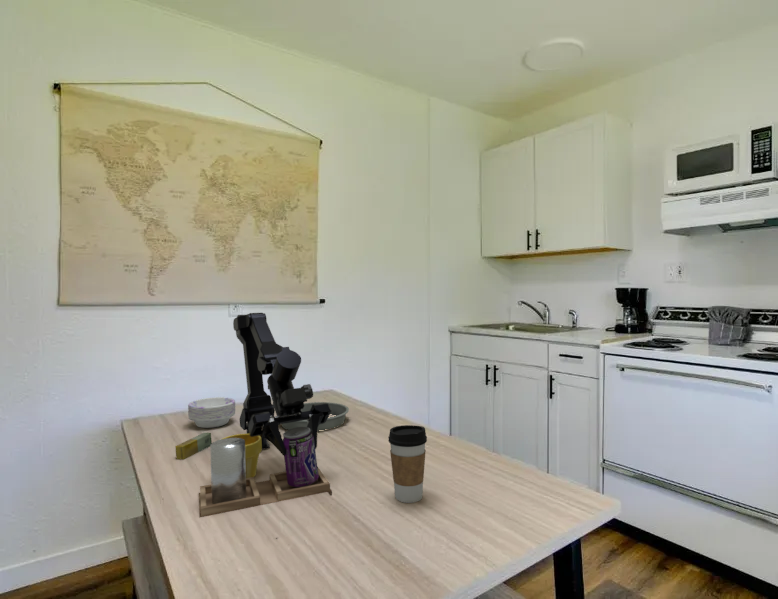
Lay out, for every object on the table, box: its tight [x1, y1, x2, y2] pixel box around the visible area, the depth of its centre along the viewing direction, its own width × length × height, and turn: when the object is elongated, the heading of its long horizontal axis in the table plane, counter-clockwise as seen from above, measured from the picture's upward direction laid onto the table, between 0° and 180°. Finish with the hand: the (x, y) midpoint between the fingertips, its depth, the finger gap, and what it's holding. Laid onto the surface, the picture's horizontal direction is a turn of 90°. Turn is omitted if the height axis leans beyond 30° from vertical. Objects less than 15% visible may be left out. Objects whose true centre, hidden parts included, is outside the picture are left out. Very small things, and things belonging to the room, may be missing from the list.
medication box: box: [175, 432, 213, 461], centre depth 129 cm, size 12×3×4 cm, turn 164°
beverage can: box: [282, 427, 319, 488], centre depth 103 cm, size 7×7×12 cm
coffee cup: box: [388, 425, 428, 504], centre depth 98 cm, size 8×8×15 cm
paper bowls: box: [187, 396, 236, 429], centre depth 156 cm, size 15×15×8 cm
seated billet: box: [209, 438, 246, 504], centre depth 97 cm, size 7×7×12 cm
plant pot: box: [221, 433, 263, 478], centre depth 109 cm, size 10×10×10 cm
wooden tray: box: [198, 465, 333, 518], centre depth 100 cm, size 12×27×2 cm, turn 113°
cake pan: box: [281, 401, 350, 432], centre depth 156 cm, size 25×25×4 cm
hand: (300, 451), depth 102 cm, fingers closed on beverage can, 7 cm apart
